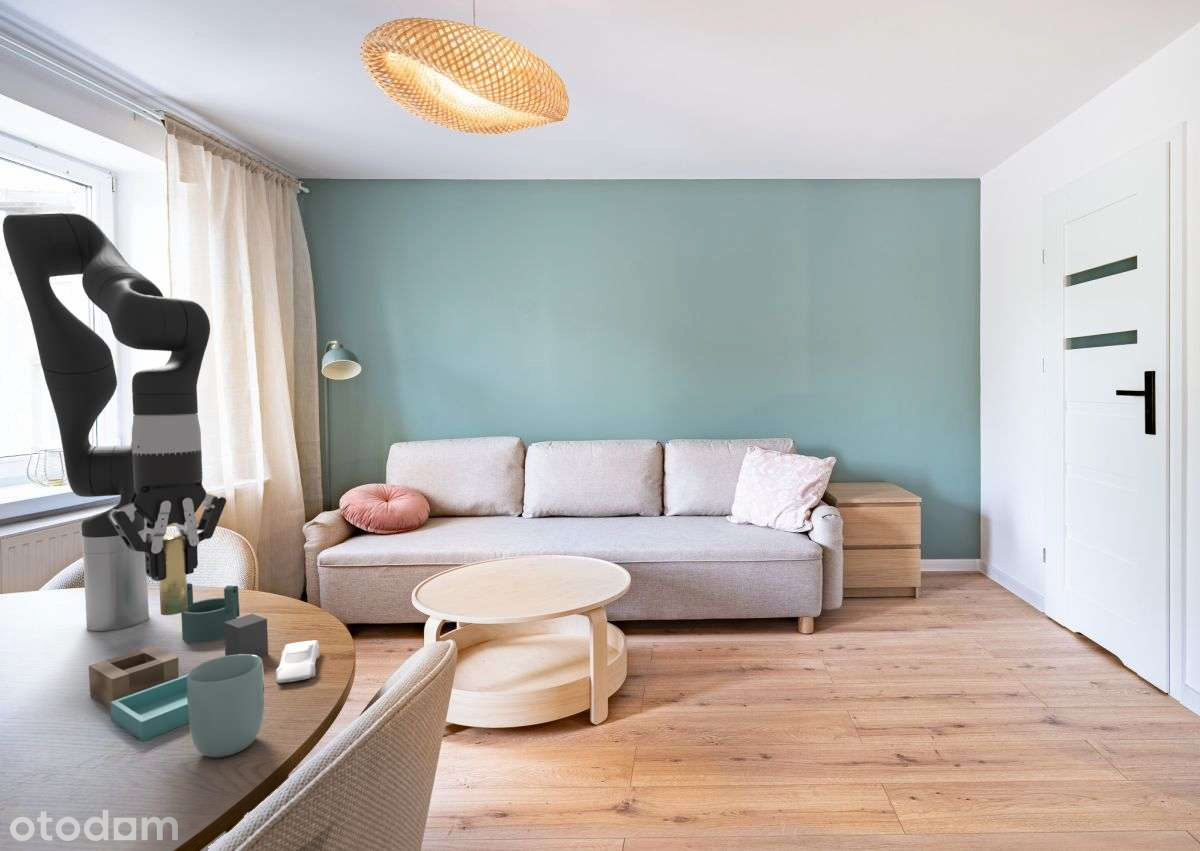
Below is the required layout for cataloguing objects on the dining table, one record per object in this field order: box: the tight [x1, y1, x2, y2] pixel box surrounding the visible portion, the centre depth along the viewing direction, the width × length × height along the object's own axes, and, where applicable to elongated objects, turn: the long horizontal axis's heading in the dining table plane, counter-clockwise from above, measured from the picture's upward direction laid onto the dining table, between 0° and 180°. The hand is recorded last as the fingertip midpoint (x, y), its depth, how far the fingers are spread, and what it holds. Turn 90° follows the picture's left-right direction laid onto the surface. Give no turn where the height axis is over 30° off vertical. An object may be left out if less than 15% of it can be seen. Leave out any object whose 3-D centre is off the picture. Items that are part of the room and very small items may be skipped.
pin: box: [158, 534, 188, 616], centre depth 82 cm, size 3×3×10 cm
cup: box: [187, 654, 265, 758], centre depth 74 cm, size 8×8×10 cm
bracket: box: [180, 582, 241, 644], centre depth 110 cm, size 9×9×9 cm
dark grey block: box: [224, 613, 269, 658], centre depth 100 cm, size 4×4×6 cm
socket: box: [88, 644, 180, 710], centre depth 88 cm, size 8×8×4 cm
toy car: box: [275, 639, 320, 684], centre depth 96 cm, size 6×12×3 cm, turn 20°
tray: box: [110, 673, 189, 742], centre depth 83 cm, size 9×12×2 cm
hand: (173, 575), depth 82 cm, fingers closed on pin, 3 cm apart
